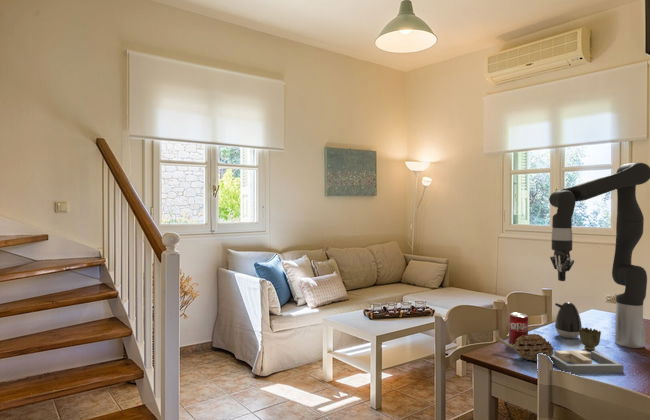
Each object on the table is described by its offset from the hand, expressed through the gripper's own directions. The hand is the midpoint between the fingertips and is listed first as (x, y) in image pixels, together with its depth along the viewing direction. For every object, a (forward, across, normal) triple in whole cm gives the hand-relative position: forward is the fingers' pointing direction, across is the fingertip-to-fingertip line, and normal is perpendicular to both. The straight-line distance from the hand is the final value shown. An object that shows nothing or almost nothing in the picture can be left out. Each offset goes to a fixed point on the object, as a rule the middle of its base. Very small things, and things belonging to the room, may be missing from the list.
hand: (561, 280), depth 177 cm
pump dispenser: (+27, +9, -9) cm, 29 cm away
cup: (+26, -8, -7) cm, 28 cm away
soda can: (+26, 0, +18) cm, 32 cm away
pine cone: (+26, -16, +26) cm, 40 cm away
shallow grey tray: (+26, -23, +8) cm, 35 cm away
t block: (+26, -22, +8) cm, 35 cm away
